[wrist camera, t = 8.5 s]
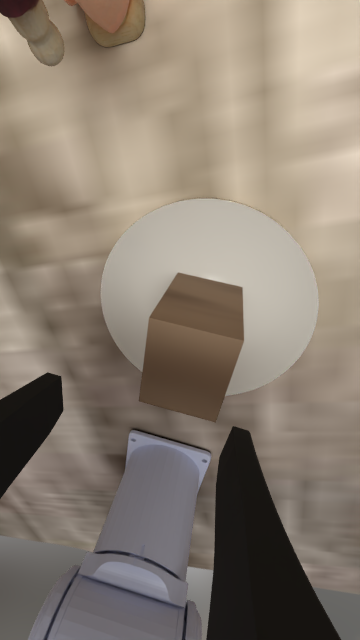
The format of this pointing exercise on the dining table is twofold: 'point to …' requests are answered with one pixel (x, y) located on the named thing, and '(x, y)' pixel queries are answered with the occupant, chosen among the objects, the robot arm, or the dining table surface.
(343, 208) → the dining table surface
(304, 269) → the cream plate
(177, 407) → the walnut block
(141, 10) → the grandmother figurine
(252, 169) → the dining table surface
